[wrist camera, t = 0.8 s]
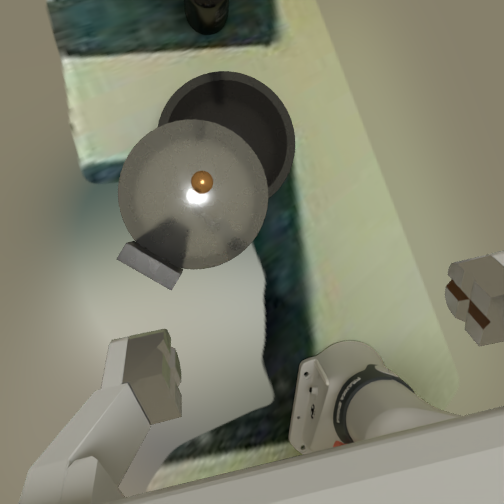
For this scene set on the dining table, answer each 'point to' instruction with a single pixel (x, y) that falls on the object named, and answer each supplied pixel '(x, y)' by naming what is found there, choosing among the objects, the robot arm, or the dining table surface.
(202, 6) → the supplement bottle
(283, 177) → the cooker pot
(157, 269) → the cooker lid
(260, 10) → the dining table surface
